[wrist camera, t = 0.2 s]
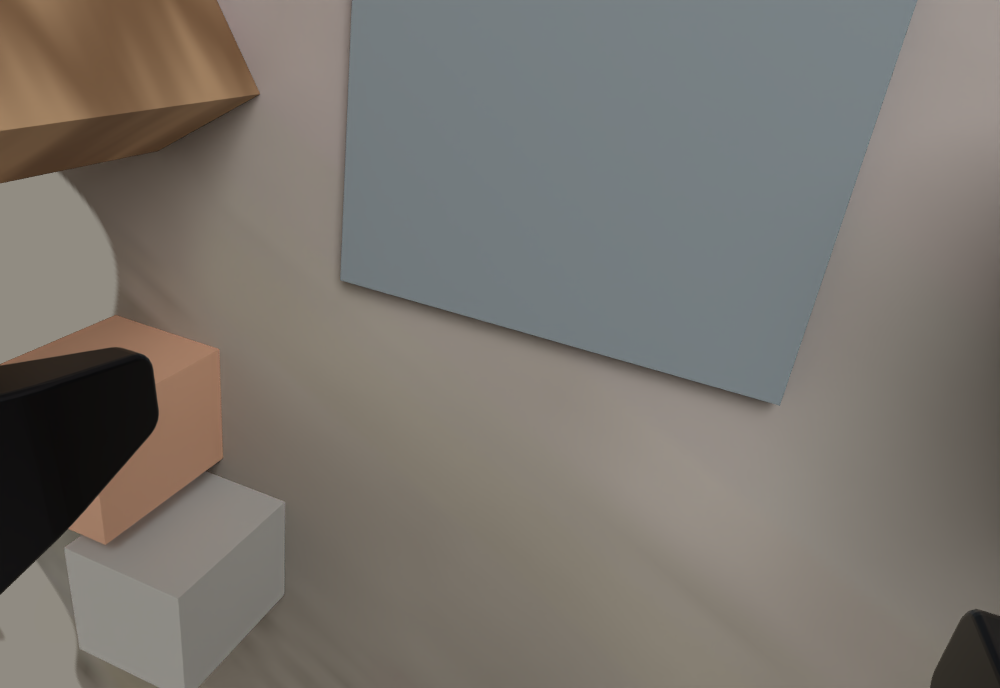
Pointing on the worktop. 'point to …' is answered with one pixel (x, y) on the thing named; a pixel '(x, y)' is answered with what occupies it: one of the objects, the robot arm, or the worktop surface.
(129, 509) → the terracotta brick
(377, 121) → the slate mat
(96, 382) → the robot arm
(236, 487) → the grey brick
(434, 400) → the worktop surface
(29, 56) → the walnut brick
